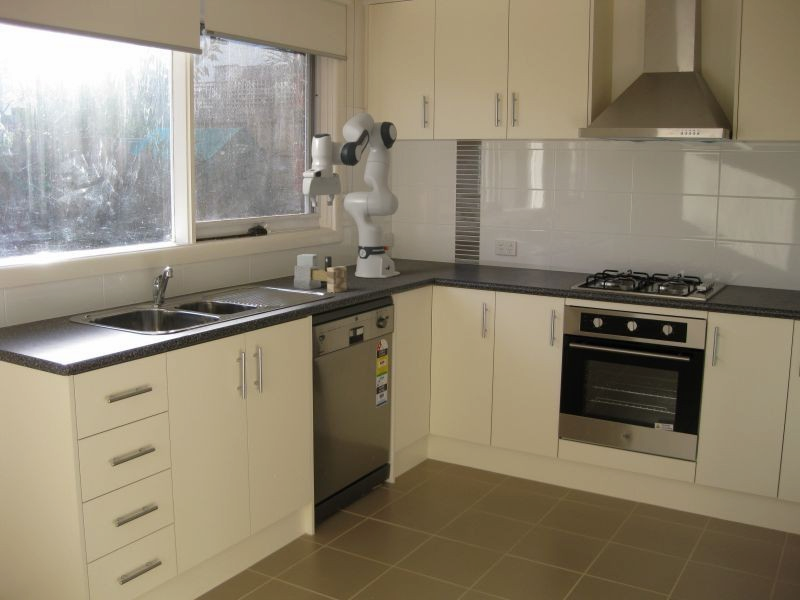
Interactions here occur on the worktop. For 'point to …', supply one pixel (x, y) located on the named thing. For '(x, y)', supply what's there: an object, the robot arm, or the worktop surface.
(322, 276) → the brass slip tube
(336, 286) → the beech socket block
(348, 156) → the robot arm
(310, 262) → the supplement box
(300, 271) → the aluminium sleeve
